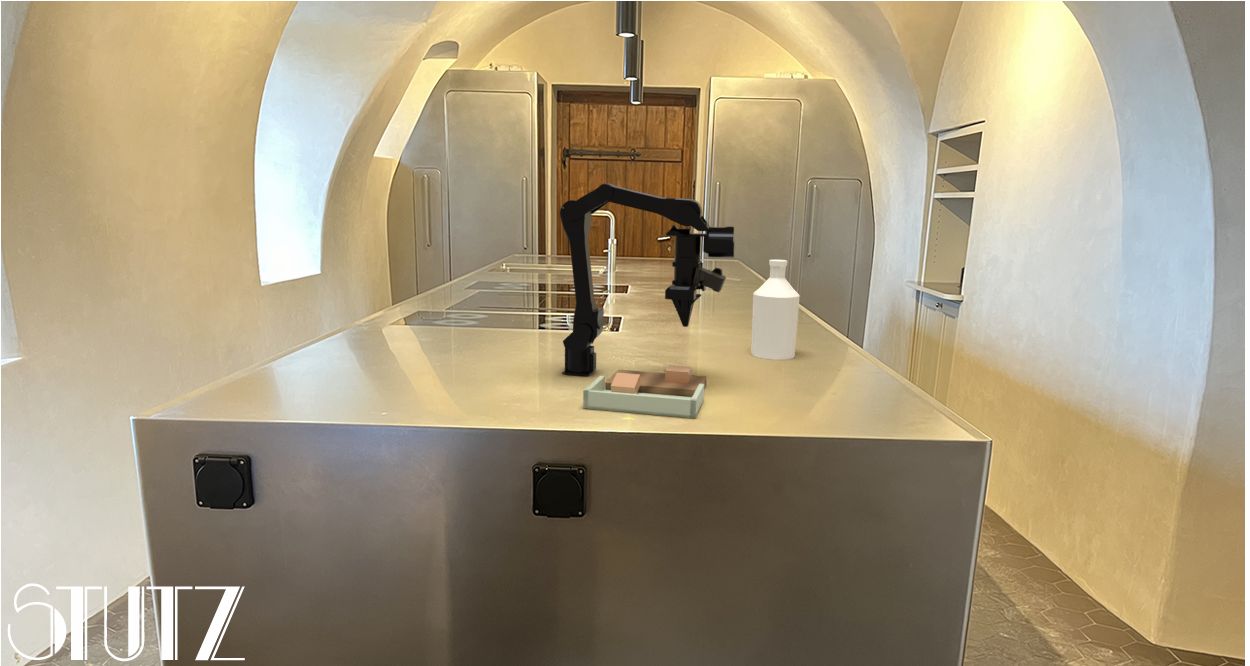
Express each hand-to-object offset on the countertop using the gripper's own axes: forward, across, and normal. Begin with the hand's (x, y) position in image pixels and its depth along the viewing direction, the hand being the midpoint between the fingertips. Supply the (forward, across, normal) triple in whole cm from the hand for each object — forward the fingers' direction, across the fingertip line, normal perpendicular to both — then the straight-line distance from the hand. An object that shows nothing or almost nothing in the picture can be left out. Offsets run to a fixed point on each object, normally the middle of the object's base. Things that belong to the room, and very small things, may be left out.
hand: (685, 326), depth 162 cm
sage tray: (+12, -22, +4) cm, 25 cm away
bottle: (+13, +33, -18) cm, 40 cm away
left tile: (+11, -18, +9) cm, 23 cm away
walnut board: (+12, -10, +4) cm, 16 cm away
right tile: (+10, -8, 0) cm, 13 cm away
